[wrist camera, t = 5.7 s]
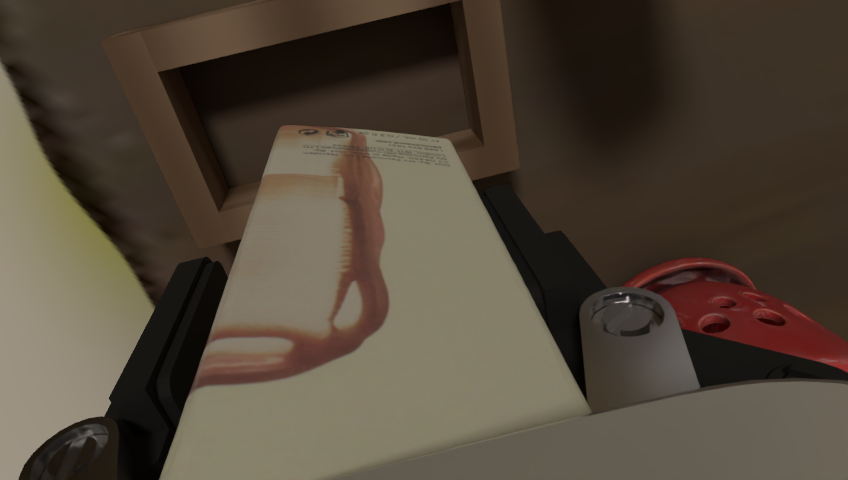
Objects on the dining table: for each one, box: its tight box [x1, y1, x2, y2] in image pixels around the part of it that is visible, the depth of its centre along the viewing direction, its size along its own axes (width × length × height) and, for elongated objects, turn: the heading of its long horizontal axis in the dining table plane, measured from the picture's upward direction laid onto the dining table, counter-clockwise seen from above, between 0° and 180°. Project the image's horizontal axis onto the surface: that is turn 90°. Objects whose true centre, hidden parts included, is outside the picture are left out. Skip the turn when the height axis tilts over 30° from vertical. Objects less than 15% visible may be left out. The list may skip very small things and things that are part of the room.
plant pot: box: [621, 257, 848, 373], centre depth 32 cm, size 13×13×12 cm
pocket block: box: [100, 0, 520, 249], centre depth 25 cm, size 16×10×3 cm, turn 101°
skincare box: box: [159, 125, 592, 480], centre depth 10 cm, size 5×4×10 cm
